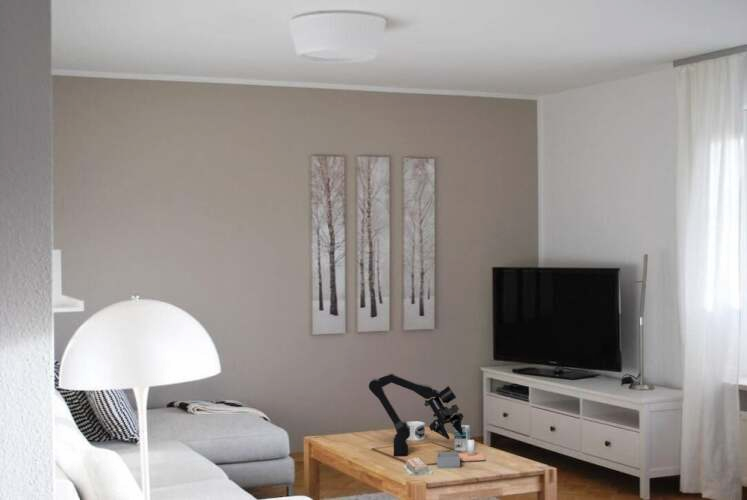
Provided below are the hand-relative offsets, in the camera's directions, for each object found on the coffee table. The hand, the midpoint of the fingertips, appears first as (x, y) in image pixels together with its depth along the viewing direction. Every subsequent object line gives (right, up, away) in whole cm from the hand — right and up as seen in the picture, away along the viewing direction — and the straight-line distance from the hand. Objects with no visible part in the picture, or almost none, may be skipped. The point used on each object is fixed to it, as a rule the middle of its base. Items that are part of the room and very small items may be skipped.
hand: (455, 436), depth 460 cm
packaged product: (-19, -11, -25) cm, 33 cm away
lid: (+7, -10, -5) cm, 13 cm away
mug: (-18, -10, +46) cm, 50 cm away
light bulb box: (+5, -10, +20) cm, 22 cm away
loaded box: (-5, -10, -16) cm, 20 cm away
